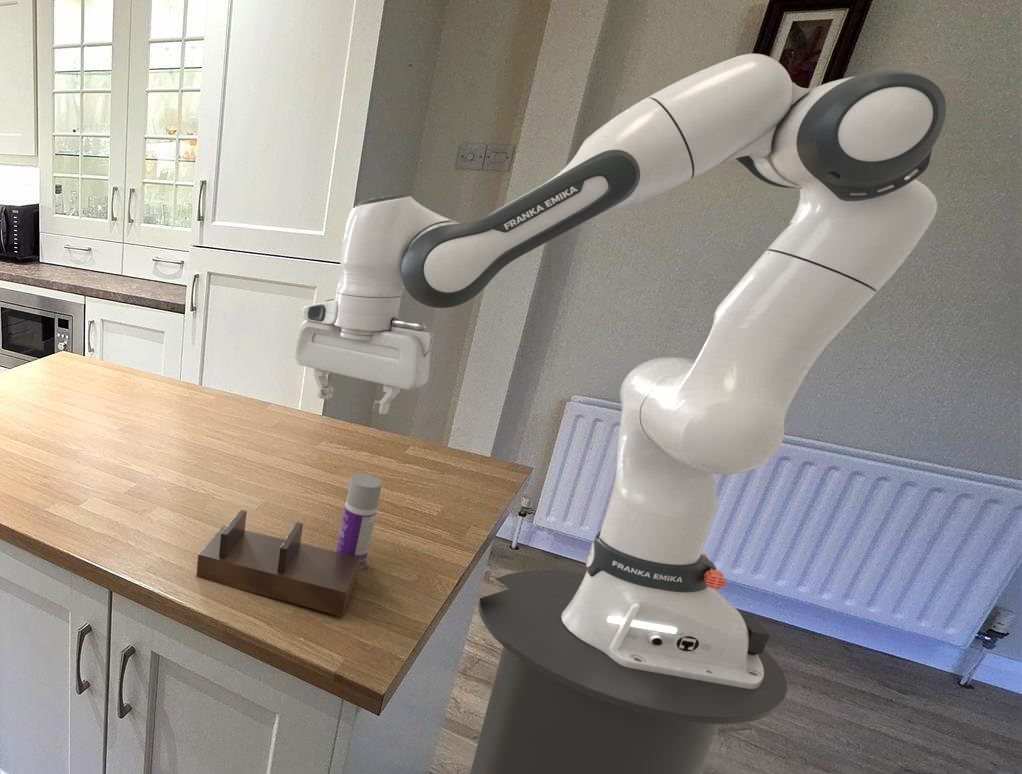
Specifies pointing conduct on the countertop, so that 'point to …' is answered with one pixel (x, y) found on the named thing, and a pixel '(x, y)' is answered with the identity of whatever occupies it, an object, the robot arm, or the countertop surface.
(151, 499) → the countertop surface
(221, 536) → the brown two-slot stand
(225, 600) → the countertop surface
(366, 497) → the container
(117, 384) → the countertop surface
